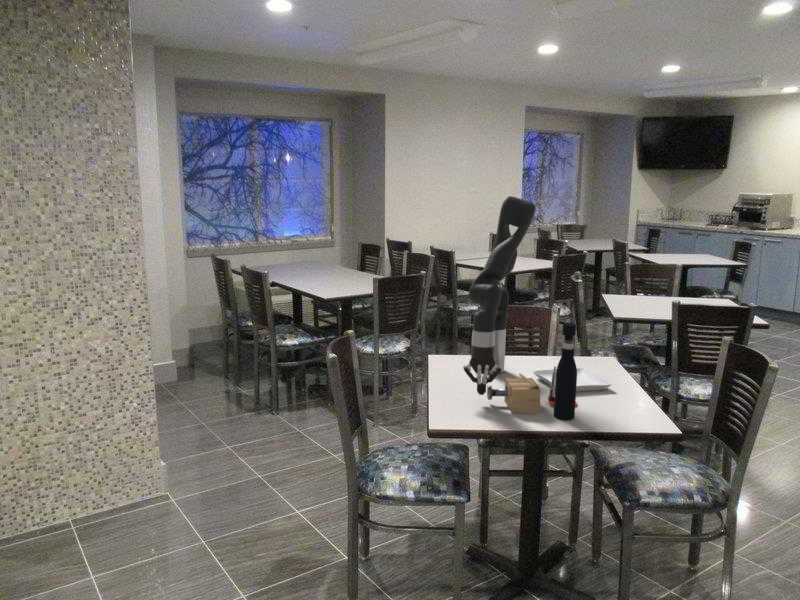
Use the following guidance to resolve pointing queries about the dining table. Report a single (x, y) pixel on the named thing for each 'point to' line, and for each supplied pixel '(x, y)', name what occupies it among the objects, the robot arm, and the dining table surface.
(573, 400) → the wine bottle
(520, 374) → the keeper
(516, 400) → the block
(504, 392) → the pin
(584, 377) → the salad plate
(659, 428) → the dining table surface
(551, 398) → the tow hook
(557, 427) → the dining table surface
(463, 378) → the dining table surface
